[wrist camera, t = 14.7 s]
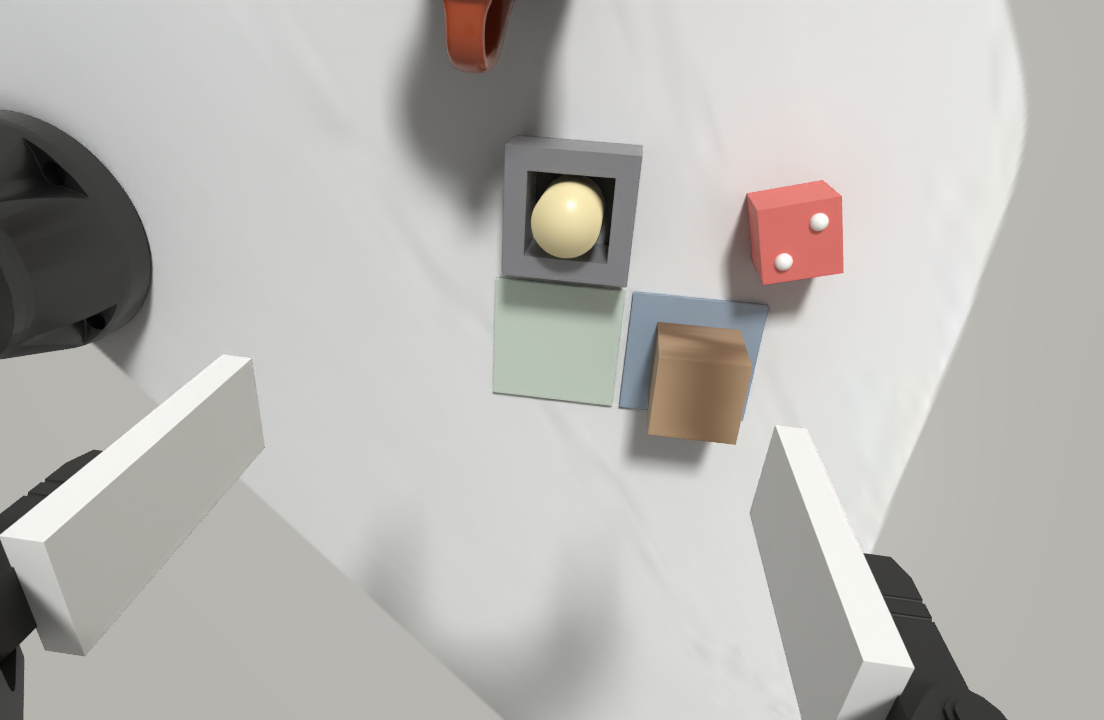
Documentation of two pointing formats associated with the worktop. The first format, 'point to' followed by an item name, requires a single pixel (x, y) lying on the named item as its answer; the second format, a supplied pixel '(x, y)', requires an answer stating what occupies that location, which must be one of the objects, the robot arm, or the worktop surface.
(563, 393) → the tile
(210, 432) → the robot arm
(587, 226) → the button
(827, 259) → the die
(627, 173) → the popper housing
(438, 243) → the worktop surface
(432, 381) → the worktop surface
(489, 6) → the mug
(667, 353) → the tan wooden cuboid
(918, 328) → the worktop surface
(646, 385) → the tile
